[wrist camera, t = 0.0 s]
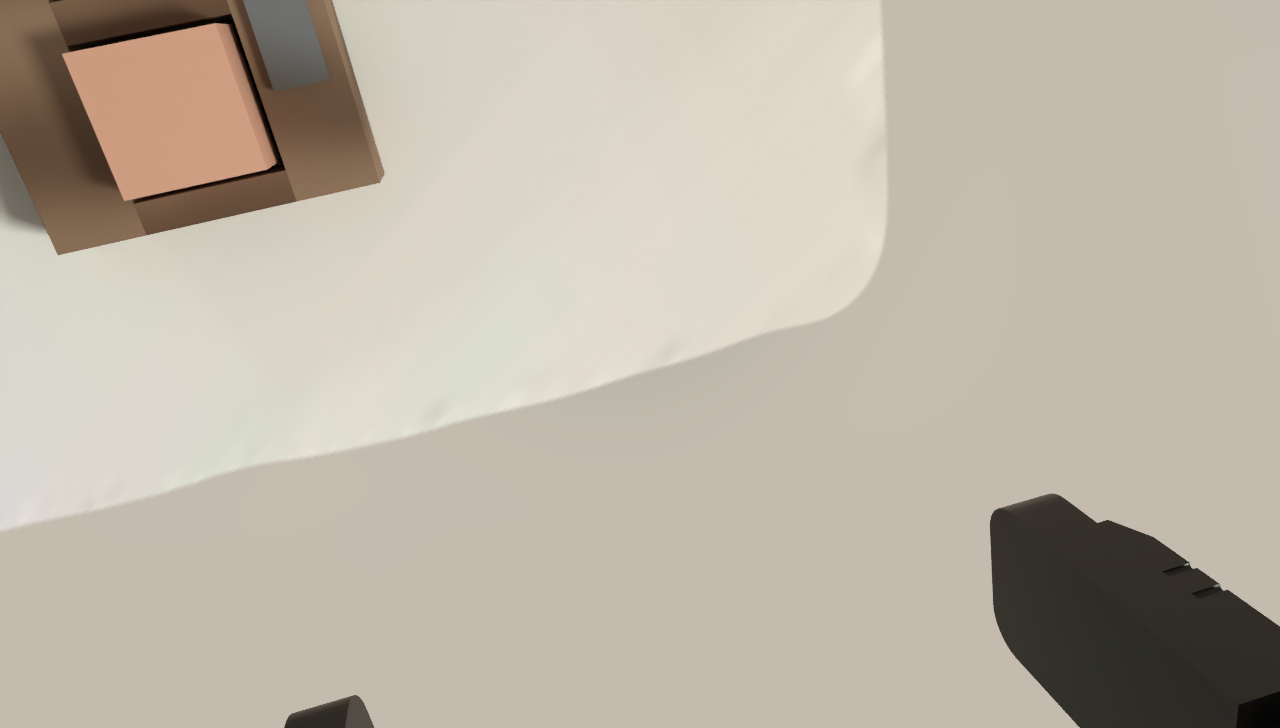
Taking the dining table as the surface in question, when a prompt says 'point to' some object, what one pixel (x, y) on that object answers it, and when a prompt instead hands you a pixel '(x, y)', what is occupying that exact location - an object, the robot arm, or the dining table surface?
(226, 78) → the key terracotta
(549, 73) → the dining table surface
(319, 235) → the dining table surface
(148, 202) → the brown wooden flat block
